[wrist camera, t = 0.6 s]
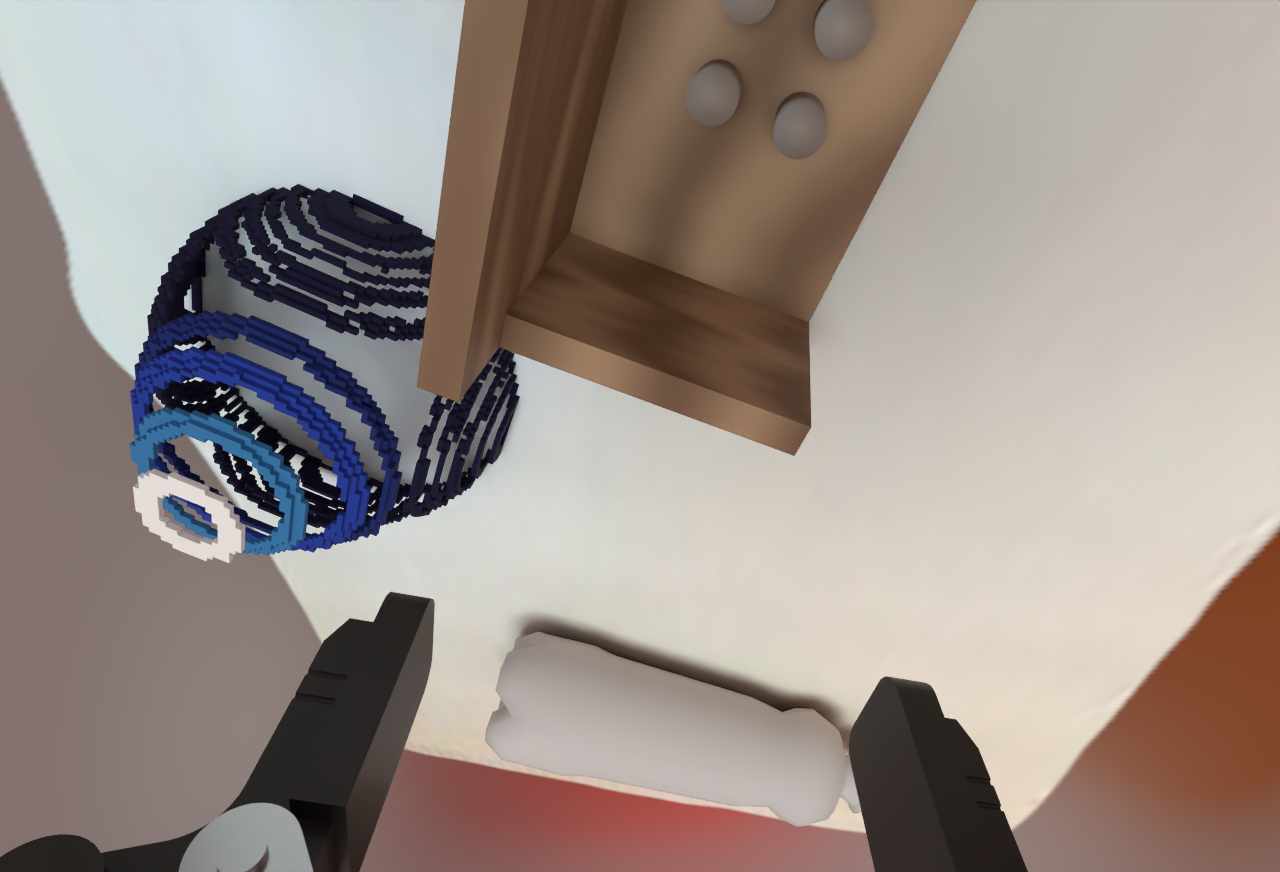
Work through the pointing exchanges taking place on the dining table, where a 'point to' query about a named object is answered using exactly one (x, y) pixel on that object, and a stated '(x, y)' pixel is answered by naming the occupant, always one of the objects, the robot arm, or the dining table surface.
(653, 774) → the bottle
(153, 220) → the dining table surface
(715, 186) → the peg frame
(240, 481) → the decorative bowl
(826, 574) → the dining table surface
